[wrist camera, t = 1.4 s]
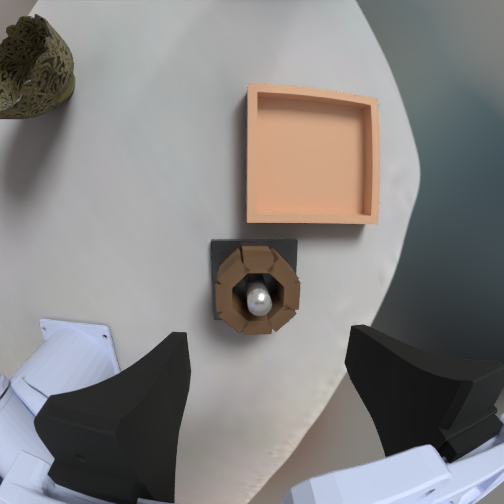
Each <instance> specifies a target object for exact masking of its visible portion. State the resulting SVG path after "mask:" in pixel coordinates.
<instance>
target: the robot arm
mask: <svg viewBox="0 0 504 504" xmlns="http://www.w3.org/2000/svg"><path fill="white" fill-rule="evenodd" d="M39 323H40V327H41V330H42V334H43V337H44V340H45V342H44V343H43V344H42V345H41V346H40V347H39V349H38V350H37V351H36V352H35V353H34V354H33V355H32V356H31V357H30V358H29V359H28V360H27V361H26V362H25V363H24V364H23V365H22V366H21V367H20V368H19V369H18V370H17V371H16V372H15V374H14V375H13V376H12V377H11V378H10V379H9V380H8V379H7V377H6V376H5V375H4V374H0V475H1V476H2V477H3V478H4V479H3V478H2V477H1V476H0V504H175V503H174V495H175V468H176V454H177V444H178V435H179V429H180V425H181V421H182V417H183V413H184V409H185V404H186V400H187V396H188V392H189V386H190V376H191V366H190V359H189V351H188V342H187V333H186V332H172V333H171V334H169V335H168V336H167V337H166V338H165V339H164V340H163V341H162V342H161V343H160V344H158V345H157V346H156V347H155V348H154V349H153V350H151V351H150V352H149V353H148V354H147V355H145V356H144V357H143V358H141V359H140V360H139V361H137V362H136V363H135V364H133V365H132V366H130V367H129V368H127V369H125V370H124V371H122V372H120V368H119V365H118V361H117V357H116V353H115V349H114V345H113V341H112V337H111V333H110V329H109V328H108V327H107V326H105V325H96V324H86V323H76V322H67V321H59V320H51V319H41V320H40V322H39ZM44 327H45V328H46V329H45V328H44ZM104 335H106V336H107V338H106V337H105V336H104ZM345 365H346V368H347V371H348V374H349V376H350V379H351V381H352V383H353V385H354V386H355V388H356V390H357V392H358V394H359V395H360V397H361V399H362V401H363V402H364V404H365V406H366V408H367V410H368V411H369V413H370V415H371V417H372V419H373V421H374V424H375V426H376V429H377V432H378V434H379V437H380V440H381V443H382V446H383V449H384V453H385V456H386V457H385V458H382V459H379V460H375V461H372V462H368V463H364V464H361V465H357V466H353V467H349V468H344V469H340V470H335V471H330V472H327V473H324V474H320V475H317V476H313V477H310V478H308V479H306V480H304V481H302V482H300V483H298V484H296V485H294V486H293V487H292V488H291V489H290V490H289V491H288V492H287V494H286V495H285V496H284V497H283V499H282V504H475V503H476V502H478V501H479V500H480V499H482V498H483V497H484V496H485V495H487V494H488V493H489V492H490V491H492V490H493V489H494V488H496V487H497V486H498V485H499V484H500V483H502V482H503V481H504V413H503V414H502V415H501V416H500V417H499V418H497V416H496V415H495V414H496V413H497V408H496V407H495V406H494V404H495V402H496V400H497V399H498V397H499V395H500V393H501V391H502V389H503V387H504V365H502V364H501V363H500V362H498V361H497V360H485V361H484V360H481V361H480V360H478V361H477V360H464V359H456V358H450V357H445V356H440V355H437V354H433V353H430V352H426V351H423V350H420V349H418V348H415V347H413V346H410V345H408V344H405V343H403V342H401V341H399V340H397V339H394V338H392V337H390V336H388V335H386V334H384V333H382V332H380V331H378V330H375V329H374V328H371V327H369V326H366V325H354V326H351V331H350V337H349V342H348V348H347V353H346V358H345Z"/></svg>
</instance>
